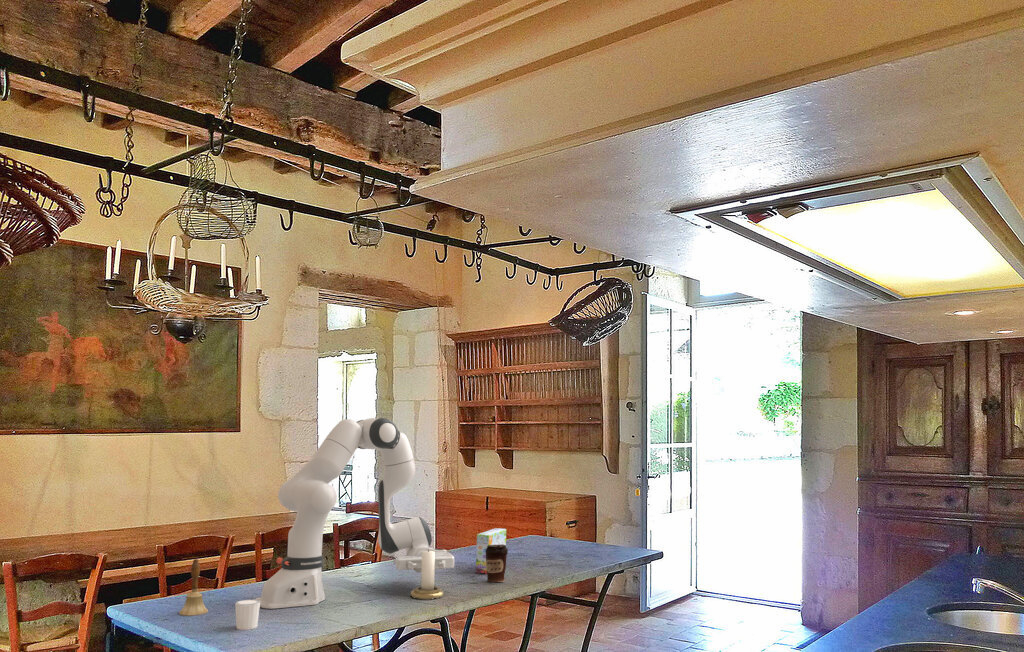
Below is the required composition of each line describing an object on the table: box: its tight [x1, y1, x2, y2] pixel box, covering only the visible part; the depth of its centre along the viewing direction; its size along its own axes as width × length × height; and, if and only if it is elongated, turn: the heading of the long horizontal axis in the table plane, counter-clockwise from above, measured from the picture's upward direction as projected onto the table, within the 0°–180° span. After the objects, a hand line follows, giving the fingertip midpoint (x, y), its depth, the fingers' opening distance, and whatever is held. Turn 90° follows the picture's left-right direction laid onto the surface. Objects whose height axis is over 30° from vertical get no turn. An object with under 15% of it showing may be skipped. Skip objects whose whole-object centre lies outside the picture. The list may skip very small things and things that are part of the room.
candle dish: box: [410, 585, 445, 600], centre depth 270 cm, size 11×11×2 cm
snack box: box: [475, 527, 507, 575], centre depth 322 cm, size 21×6×15 cm, turn 161°
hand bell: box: [178, 558, 209, 617], centre depth 246 cm, size 8×8×16 cm
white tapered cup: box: [234, 599, 261, 631], centre depth 229 cm, size 7×7×7 cm
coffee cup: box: [485, 544, 509, 583], centre depth 297 cm, size 9×8×13 cm
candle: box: [420, 549, 436, 591], centre depth 271 cm, size 4×4×14 cm
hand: (428, 566), depth 271 cm, fingers open, 8 cm apart
